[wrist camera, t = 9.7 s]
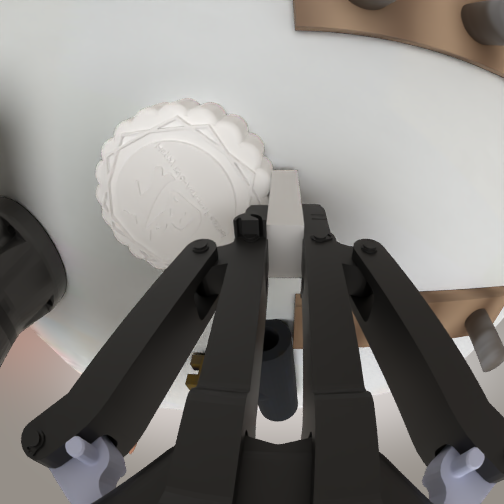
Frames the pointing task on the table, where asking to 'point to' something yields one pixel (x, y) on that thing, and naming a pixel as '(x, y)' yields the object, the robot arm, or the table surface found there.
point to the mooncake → (179, 178)
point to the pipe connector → (269, 373)
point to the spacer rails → (453, 44)
